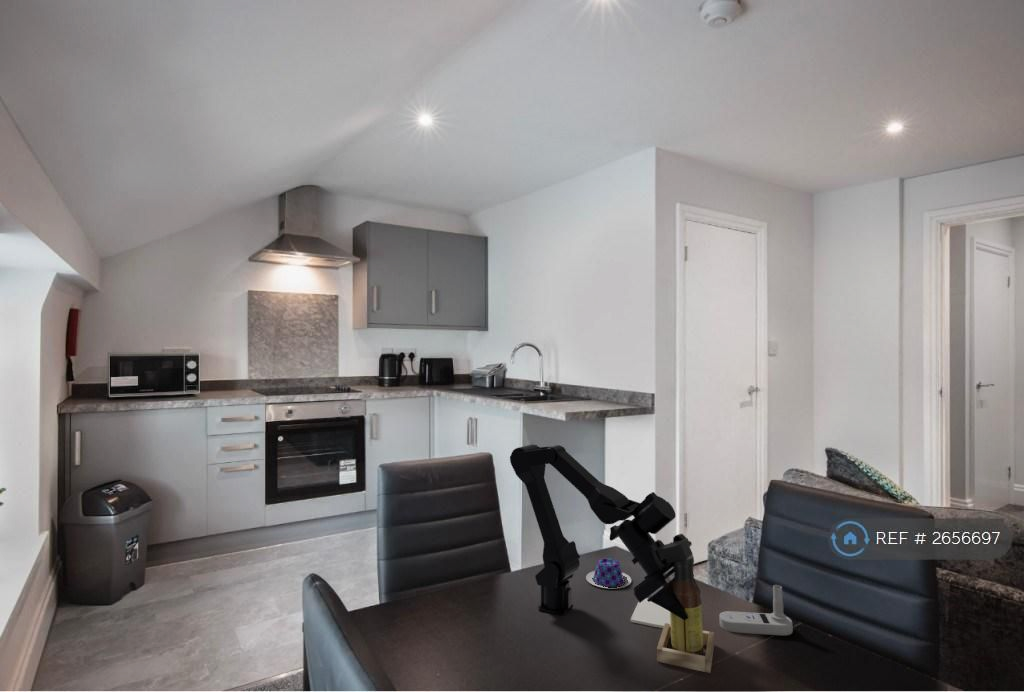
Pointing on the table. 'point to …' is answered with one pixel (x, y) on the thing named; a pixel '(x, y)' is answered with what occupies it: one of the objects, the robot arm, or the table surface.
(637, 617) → the coaster
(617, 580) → the pudding
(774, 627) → the electronic device
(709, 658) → the bottle holder
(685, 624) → the sauce bottle
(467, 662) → the table surface
